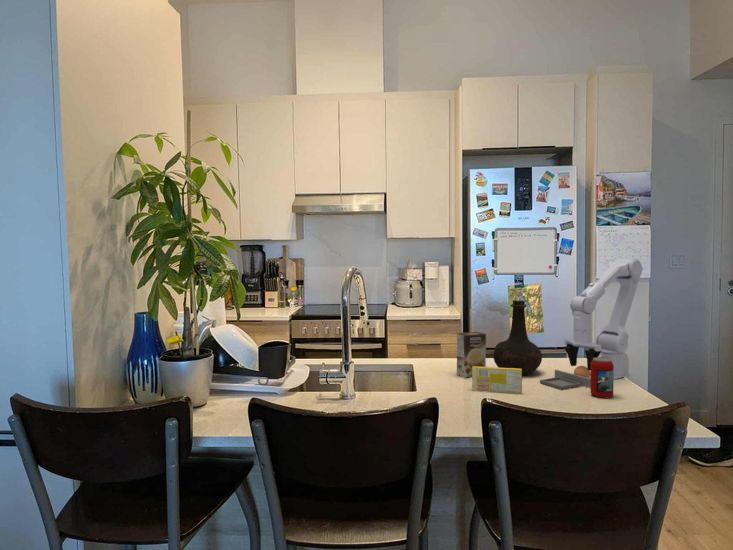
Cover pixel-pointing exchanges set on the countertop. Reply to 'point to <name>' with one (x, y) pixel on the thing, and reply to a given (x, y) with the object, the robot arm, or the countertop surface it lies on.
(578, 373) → the ball
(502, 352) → the glass bottle
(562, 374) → the low fence
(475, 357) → the coffee box
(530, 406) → the countertop surface
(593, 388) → the beverage can
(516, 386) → the candy box
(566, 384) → the charcoal dish
